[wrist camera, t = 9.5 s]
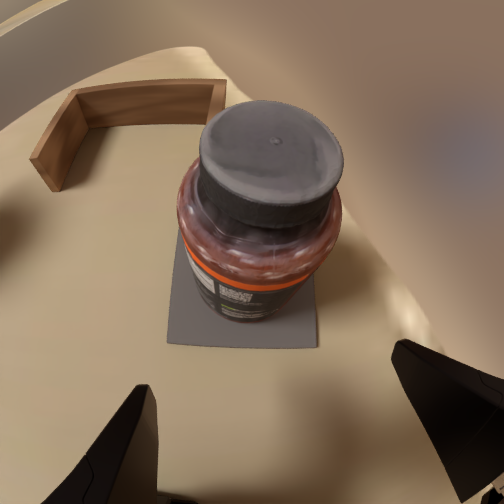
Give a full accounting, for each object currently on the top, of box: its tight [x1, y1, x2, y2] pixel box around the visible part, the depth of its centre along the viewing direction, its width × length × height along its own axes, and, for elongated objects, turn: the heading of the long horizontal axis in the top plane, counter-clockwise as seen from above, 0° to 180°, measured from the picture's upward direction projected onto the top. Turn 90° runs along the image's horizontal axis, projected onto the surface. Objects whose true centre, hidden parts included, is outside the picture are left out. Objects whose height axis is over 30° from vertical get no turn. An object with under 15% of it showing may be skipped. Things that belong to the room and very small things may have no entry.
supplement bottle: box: [177, 100, 344, 323], centre depth 14 cm, size 7×7×13 cm
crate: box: [29, 79, 227, 192], centre depth 22 cm, size 10×16×5 cm, turn 89°
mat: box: [167, 227, 316, 349], centre depth 20 cm, size 10×10×1 cm
